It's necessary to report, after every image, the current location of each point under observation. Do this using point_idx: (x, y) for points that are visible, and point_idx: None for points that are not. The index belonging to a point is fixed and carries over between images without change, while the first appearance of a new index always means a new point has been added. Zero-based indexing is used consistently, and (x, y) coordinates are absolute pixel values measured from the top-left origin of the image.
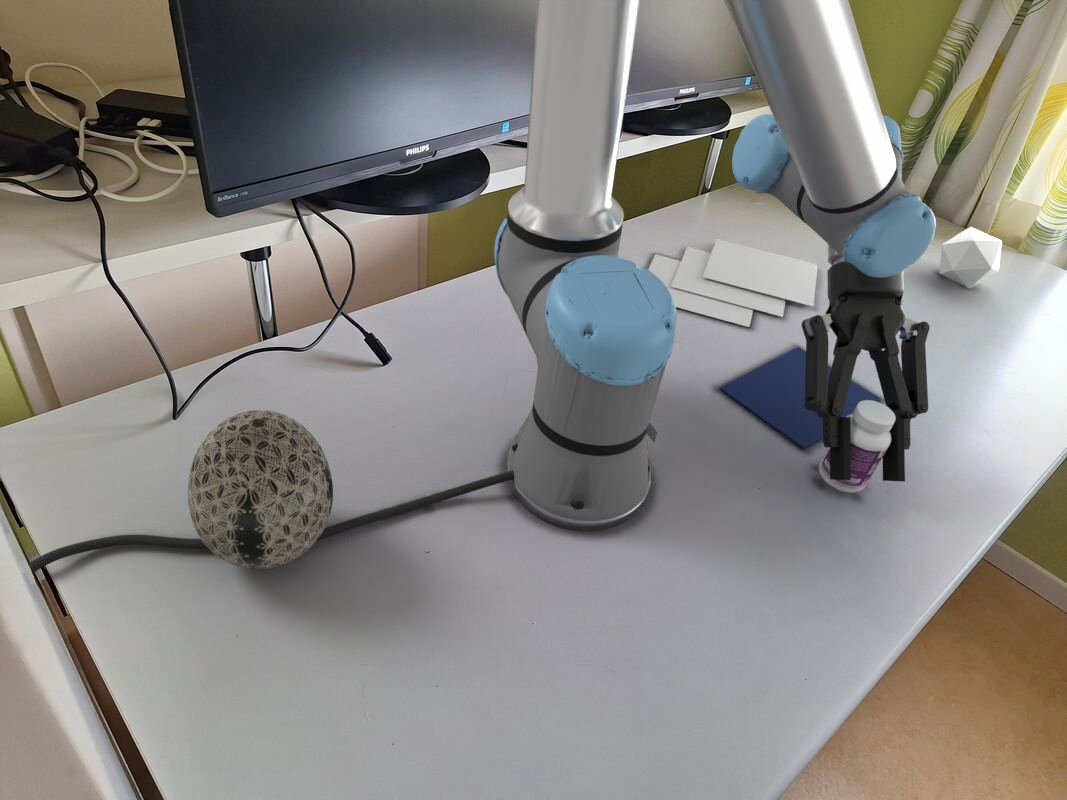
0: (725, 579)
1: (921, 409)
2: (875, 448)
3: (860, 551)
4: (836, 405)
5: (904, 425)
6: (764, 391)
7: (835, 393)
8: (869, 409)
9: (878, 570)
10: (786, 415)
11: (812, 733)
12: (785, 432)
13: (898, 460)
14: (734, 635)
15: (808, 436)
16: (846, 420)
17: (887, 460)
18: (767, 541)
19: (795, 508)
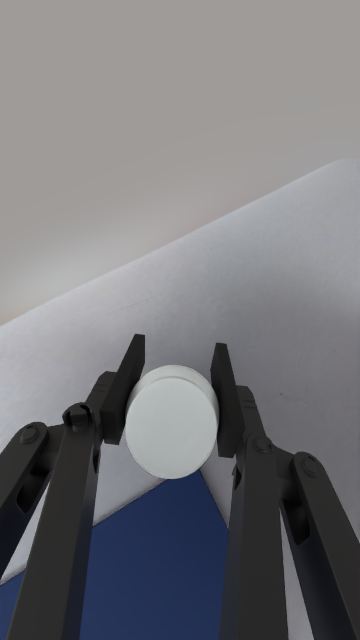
0: (344, 286)
1: (38, 430)
2: (179, 365)
3: (202, 299)
4: (268, 458)
5: (95, 407)
6: (205, 632)
7: (277, 498)
8: (186, 435)
9: (195, 278)
10: (191, 549)
11: (308, 176)
12: (210, 502)
13: (137, 353)
14: (346, 239)
15: (178, 490)
16: (237, 419)
17: (138, 373)
18: (293, 320)
19: (247, 359)
